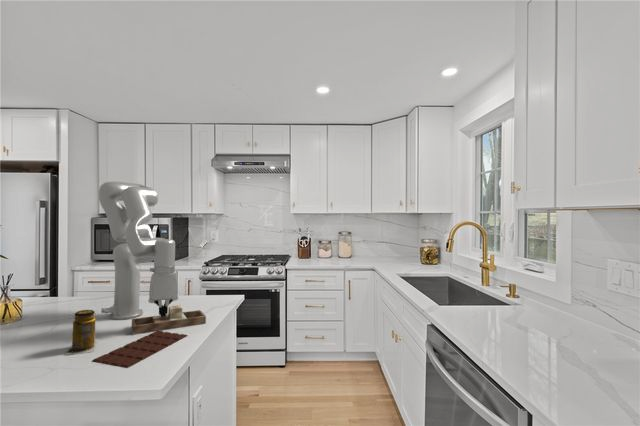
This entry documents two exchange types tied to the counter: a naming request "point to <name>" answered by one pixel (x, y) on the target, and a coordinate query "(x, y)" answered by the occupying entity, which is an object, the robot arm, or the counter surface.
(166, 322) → the box
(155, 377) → the counter surface
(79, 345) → the condiment
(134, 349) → the chocolate bar
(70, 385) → the counter surface
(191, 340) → the counter surface
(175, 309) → the block
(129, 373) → the counter surface
